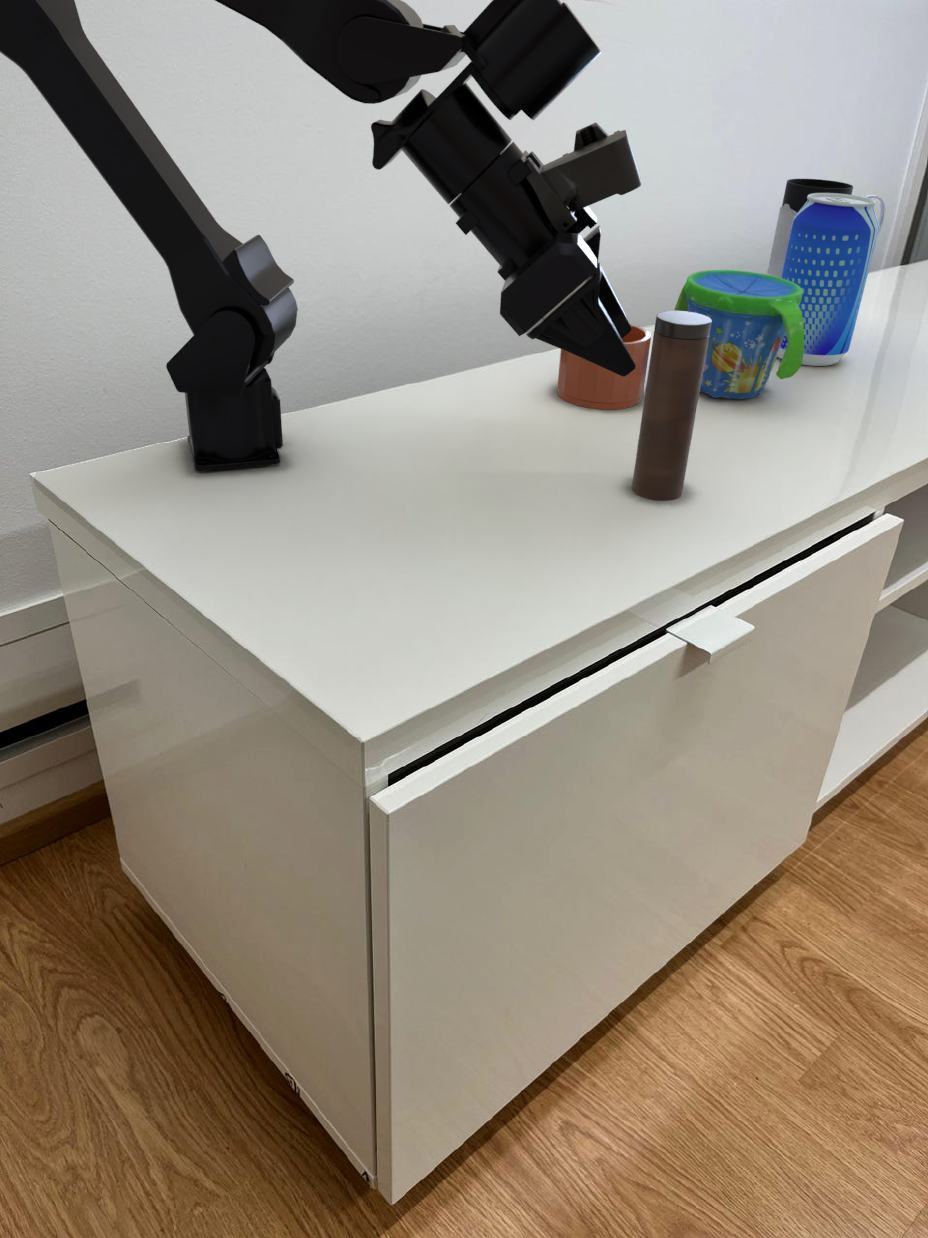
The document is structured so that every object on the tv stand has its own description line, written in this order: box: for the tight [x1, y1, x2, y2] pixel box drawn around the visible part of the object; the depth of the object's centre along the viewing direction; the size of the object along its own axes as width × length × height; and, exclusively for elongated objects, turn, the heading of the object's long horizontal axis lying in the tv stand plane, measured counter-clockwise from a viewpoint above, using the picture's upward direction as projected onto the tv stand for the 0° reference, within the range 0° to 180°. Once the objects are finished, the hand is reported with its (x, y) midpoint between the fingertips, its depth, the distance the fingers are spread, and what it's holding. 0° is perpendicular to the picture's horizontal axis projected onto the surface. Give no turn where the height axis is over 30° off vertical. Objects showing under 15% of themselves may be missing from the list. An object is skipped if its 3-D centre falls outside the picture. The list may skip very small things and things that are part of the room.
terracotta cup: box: [556, 323, 652, 410], centre depth 91 cm, size 8×8×6 cm
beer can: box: [777, 193, 879, 367], centre depth 102 cm, size 8×8×16 cm
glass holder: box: [766, 178, 887, 278], centre depth 119 cm, size 9×14×15 cm, turn 106°
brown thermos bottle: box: [631, 310, 712, 501], centre depth 71 cm, size 4×4×13 cm
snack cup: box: [673, 269, 804, 400], centre depth 93 cm, size 16×10×10 cm
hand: (628, 351), depth 69 cm, fingers open, 9 cm apart
